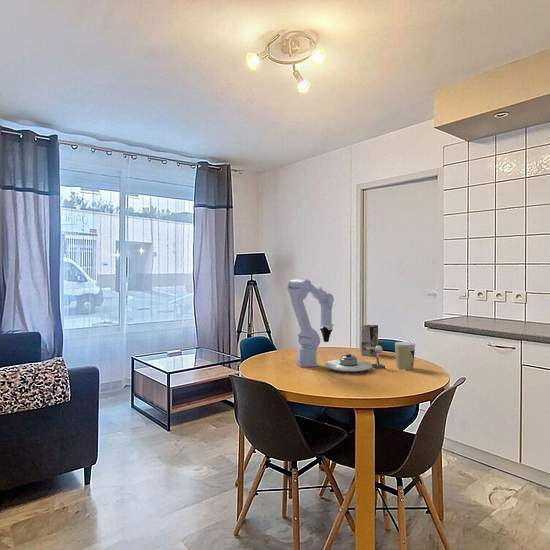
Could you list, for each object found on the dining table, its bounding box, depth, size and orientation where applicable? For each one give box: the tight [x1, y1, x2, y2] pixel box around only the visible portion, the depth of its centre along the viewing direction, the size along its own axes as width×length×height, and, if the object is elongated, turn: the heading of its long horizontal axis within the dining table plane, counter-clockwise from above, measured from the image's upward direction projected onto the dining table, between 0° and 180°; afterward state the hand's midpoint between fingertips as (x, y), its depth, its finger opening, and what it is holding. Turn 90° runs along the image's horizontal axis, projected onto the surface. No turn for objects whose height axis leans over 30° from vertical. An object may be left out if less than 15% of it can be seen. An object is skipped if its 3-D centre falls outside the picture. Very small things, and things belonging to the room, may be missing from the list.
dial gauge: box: [366, 344, 386, 370], centre depth 205 cm, size 8×5×11 cm, turn 101°
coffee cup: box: [394, 341, 416, 371], centre depth 204 cm, size 9×9×12 cm
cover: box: [339, 353, 358, 366], centre depth 202 cm, size 8×8×5 cm
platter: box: [324, 358, 373, 371], centre depth 203 cm, size 22×22×1 cm
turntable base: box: [329, 368, 368, 375], centre depth 203 cm, size 18×18×2 cm
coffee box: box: [360, 324, 379, 357], centre depth 236 cm, size 9×6×16 cm
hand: (326, 341), depth 223 cm, fingers closed
